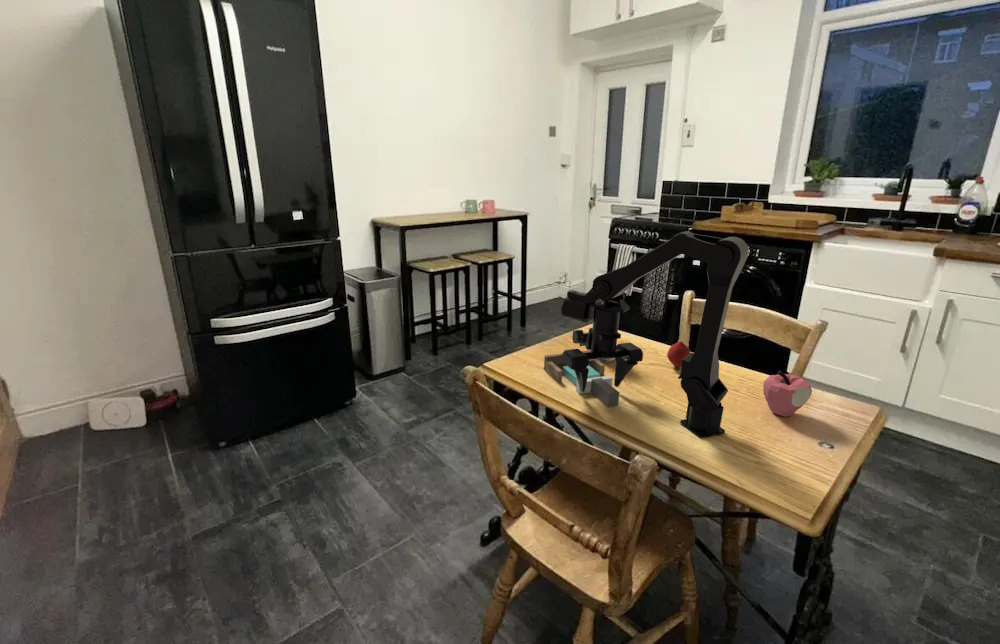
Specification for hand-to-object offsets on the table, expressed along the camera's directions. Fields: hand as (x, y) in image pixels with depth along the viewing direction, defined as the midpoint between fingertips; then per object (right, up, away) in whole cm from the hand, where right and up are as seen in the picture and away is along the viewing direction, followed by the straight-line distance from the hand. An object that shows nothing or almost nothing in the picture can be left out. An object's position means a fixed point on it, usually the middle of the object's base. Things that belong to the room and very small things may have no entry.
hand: (599, 388), depth 114 cm
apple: (+40, -5, -6) cm, 40 cm away
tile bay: (-4, +2, +12) cm, 13 cm away
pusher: (0, -2, -1) cm, 2 cm away
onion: (+25, +3, +17) cm, 30 cm away
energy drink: (+6, +5, +22) cm, 23 cm away
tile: (-3, +1, +9) cm, 10 cm away
